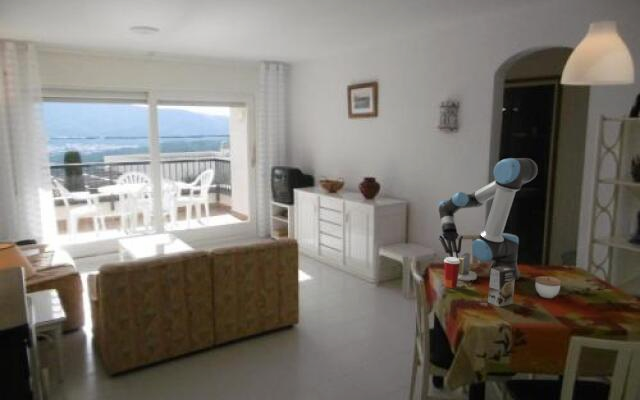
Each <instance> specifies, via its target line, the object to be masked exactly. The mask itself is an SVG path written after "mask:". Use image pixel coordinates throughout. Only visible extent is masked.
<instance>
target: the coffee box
mask: <svg viewBox="0 0 640 400" xmlns="http://www.w3.org/2000/svg"><path fill="white" fill-rule="evenodd" d="M515 272H516V269H513V268H510V267H506V266H501V267H495V268H491V274H490V276H489V277H490V278H489V287H488V288H489V289H488V297H487V298H488V300H487V302H488V303H489V304H491V305H494V306H496V307H504V306H508V305H512V304H513V303H514V292H515V283H516V282H515V281H516V280H515Z"/></svg>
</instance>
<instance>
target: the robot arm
mask: <svg viewBox="0 0 640 400" xmlns="http://www.w3.org/2000/svg"><path fill="white" fill-rule="evenodd" d="M538 170H539V169H538V164H537V163H536V162H535V161H534V160H532V159H531V158H528V157H527V158H526V157H521V158H520V157H519V158H517V157H516V158H513V157H509V158H504V159H502V160H499V161H498V162H497V163H496V164H495V166H494V169H493V176H494V180H493V181H492V182H490V183H488V184H486V185H485V186H482V187H481V188H479V189H478V190H476V191H474V192H472V193H468V194H466V193H465V192H463V191H458V192H457V193H455V194H454V195H453V196H451V198H449V200H447V199H445V200H442V201H439V203H438V206H437V207H438V212H439V218H440V223H441V231H442V234H441V235H439V237H438V240H439V241H440V242H441V245H442V248H443V249H444V252H445V254H448V256H449V257H455V258H459V254H460V253H461V250H462V241H463V238H464V237H463V235H459V233H458V230H457V224H456V220H455V213H457V212H458V211H460V210H462V209H469V208H470V209H471V208H472V209H473V208H479V207H482V206H484V204H485V203H486V202H488V201H490V200H492V199H493V201H492V204H491V207H490V210H489V214H488V217H487V220H486V223H485V224H486V225H485V227H484V230H482V231H480V233H479V235H478V236H479V237H478V238H477V239H475V240H473V241H472V244H471V253H472V254H473V256H474V257H475V259H477V260H478V261H479V262H482V263H484V262H487V263H488V262H491V265H490V267H489V269H488V276H489V277H490V274H491V268H495V267H501V266H506V267H510V268H513V269H516V272H515V281H517V280H519V279H520V272H519V271H520V270H519V268H518V252H519V244H520V243H519V237H518V236H517V235H516V234H511V233H508V232H504V230H505V227H506V224H507V220H508V217H509V215H510V212H511V208H512V205H513V202H514V198H515V196H516V192H518V191H520V190H521V188H522V186H523V185H525V184H526V183H530V182H531V181H532V180H534V179H536V177H537V175H538V172H539V171H538ZM456 240H458V242H456Z"/></svg>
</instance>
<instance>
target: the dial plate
mask: <svg viewBox="0 0 640 400" xmlns="http://www.w3.org/2000/svg"><path fill="white" fill-rule="evenodd" d="M477 278H478V274H477V273H476V272H474V271H471V270H469V274H468V275H461V274H458V280H457V281H464V282H465V281H466V282H467V281H469V282H471V280H472V281H475V280H477Z"/></svg>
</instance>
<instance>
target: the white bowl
mask: <svg viewBox="0 0 640 400" xmlns="http://www.w3.org/2000/svg"><path fill="white" fill-rule="evenodd" d="M534 279H535V284H534V285H535V290H536V293H538V294H539V296H540V297H541V298H546V299H553V298H554V297H556V296H557V295H559V292H560V291H561V285H562V281H561V280H560V279H558V278H554V277H551V276H549V275H548V276H543V275H542V276H536V277H535V278H534Z"/></svg>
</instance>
